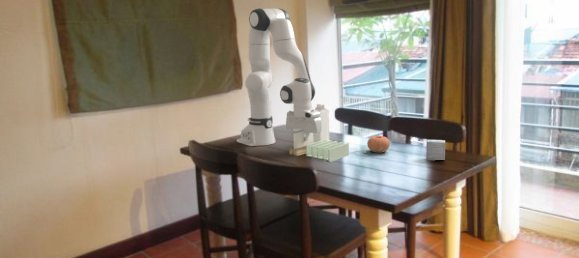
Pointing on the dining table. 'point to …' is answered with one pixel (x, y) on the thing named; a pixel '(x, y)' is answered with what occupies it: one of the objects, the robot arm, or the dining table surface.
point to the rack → (327, 150)
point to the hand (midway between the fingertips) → (303, 140)
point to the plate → (301, 138)
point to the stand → (298, 151)
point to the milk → (325, 124)
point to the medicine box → (435, 150)
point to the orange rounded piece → (378, 144)
